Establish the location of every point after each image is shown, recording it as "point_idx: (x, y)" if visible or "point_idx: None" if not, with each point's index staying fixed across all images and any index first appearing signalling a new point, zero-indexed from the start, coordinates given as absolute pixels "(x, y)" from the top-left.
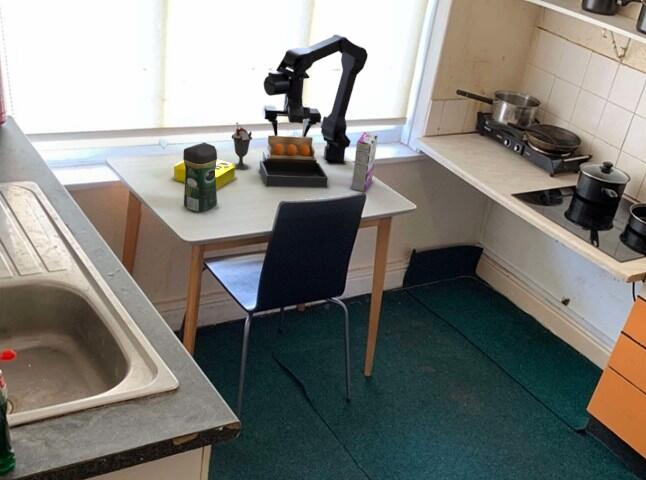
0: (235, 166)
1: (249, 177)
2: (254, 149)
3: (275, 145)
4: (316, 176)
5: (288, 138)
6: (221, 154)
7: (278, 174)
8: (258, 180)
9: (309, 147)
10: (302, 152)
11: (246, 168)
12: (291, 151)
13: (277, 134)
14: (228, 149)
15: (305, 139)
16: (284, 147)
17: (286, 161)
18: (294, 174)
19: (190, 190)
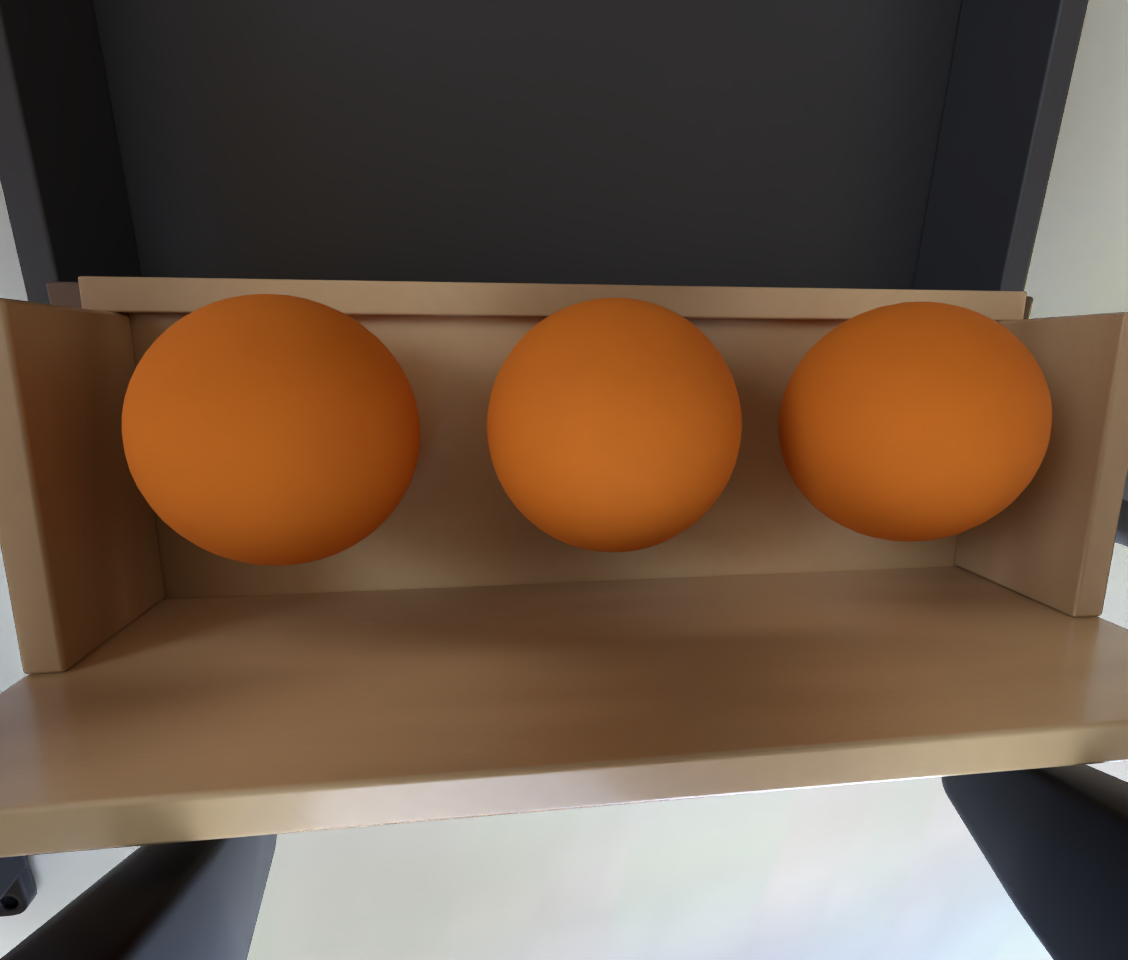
0: (1126, 477)
1: (1085, 185)
2: (766, 928)
3: (1048, 436)
4: (179, 207)
5: (720, 718)
6: (1099, 770)
7: (730, 255)
8: None
9: (132, 634)
10: (355, 323)
11: None
12: (647, 305)
13: (1083, 801)
14: (994, 883)
15: (160, 751)
16: (711, 597)
17: None
18: (510, 269)
19: None
